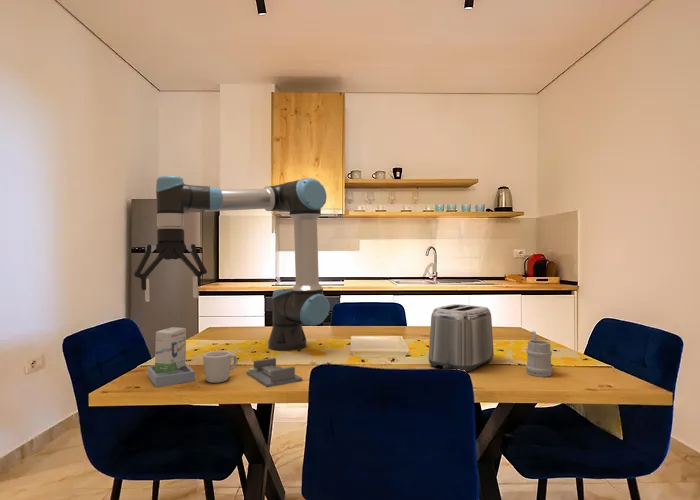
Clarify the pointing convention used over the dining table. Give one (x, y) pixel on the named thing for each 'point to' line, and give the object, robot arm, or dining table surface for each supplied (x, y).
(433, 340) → the toaster
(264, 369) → the checker pad
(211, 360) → the cup
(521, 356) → the dining table surface
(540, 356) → the mug
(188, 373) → the trough
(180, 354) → the ink box
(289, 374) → the cradle
